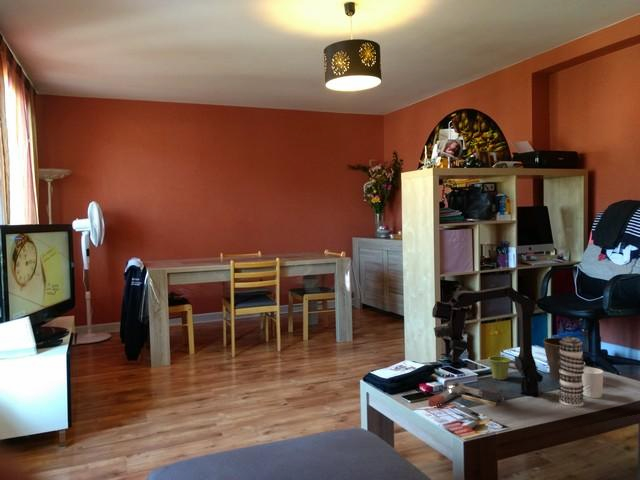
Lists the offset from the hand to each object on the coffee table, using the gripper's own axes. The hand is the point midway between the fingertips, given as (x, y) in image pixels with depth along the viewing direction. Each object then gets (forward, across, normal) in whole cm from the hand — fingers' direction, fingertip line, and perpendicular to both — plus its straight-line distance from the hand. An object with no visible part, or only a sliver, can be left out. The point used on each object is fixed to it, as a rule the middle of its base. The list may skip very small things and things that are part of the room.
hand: (449, 359), depth 203 cm
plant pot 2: (+3, -18, +57) cm, 60 cm away
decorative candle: (+5, +11, +46) cm, 48 cm away
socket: (+12, +7, +17) cm, 22 cm away
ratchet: (+15, +4, +4) cm, 16 cm away
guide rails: (+12, +4, +14) cm, 19 cm away
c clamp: (+7, -34, +44) cm, 55 cm away
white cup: (+3, +4, +58) cm, 58 cm away
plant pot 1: (+9, -20, +30) cm, 38 cm away
